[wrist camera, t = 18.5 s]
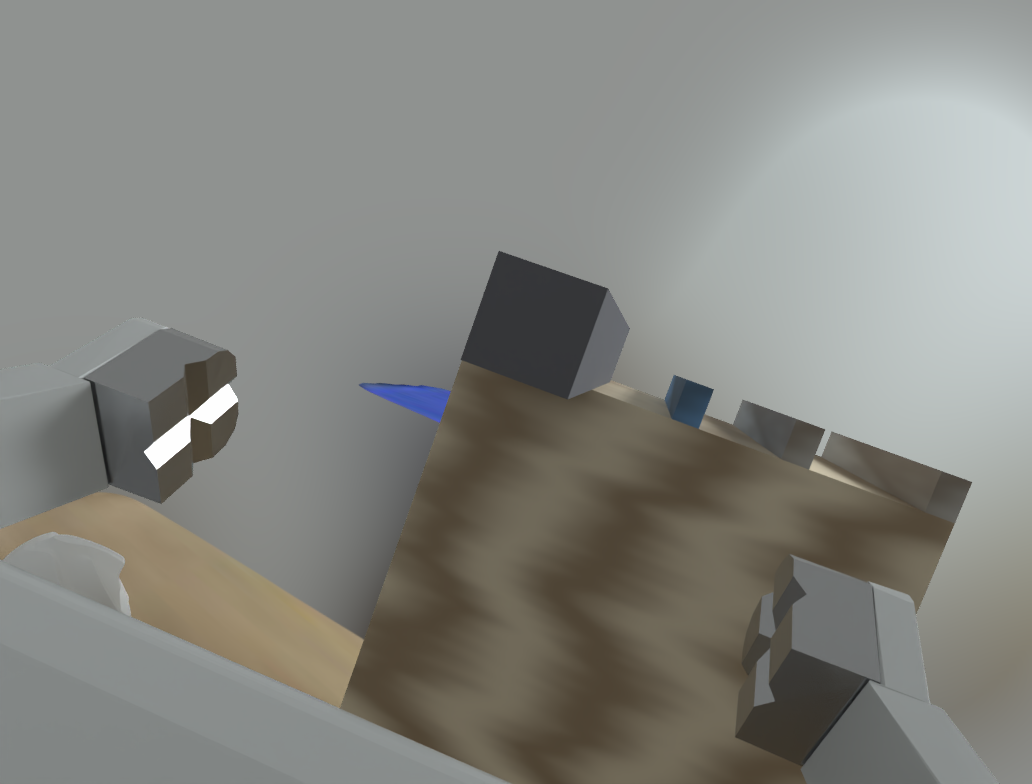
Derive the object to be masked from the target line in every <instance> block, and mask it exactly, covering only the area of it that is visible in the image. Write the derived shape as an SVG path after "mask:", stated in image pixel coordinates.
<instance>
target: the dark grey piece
mask: <svg viewBox="0 0 1032 784" xmlns="http://www.w3.org/2000/svg"><path fill="white" fill-rule="evenodd" d="M629 329H630V328H629V326H628V325H627V323H626V321H625V319H624V317H623V315H622V313H621V312H620V310H619V308H618V306H617V304H616V303H615V301H614V299H613V297H612V295H611V293H610V291H609V289H608V288H605V287H602V286H599V285H596V284H593V283H590V282H587V281H584V280H581V279H579V278H576V277H573V276H570V275H567V274H564V273H561V272H558V271H556V270H552V269H550V268H547V267H543V266H541V265H538V264H535V263H532V262H529V261H527V260H523V259H521V258H518V257H515V256H512V255H509V254H506V253H503V252H500V251H499V252H498V255H497V258H496V261H495V263H494V266H493V269H492V272H491V275H490V278H489V281H488V283H487V286H486V289H485V292H484V295H483V298H482V301H481V304H480V306H479V309H478V312H477V315H476V318H475V321H474V323H473V326H472V329H471V332H470V335H469V338H468V340H467V343H466V346H465V349H464V352H463V355H462V358H461V360H462V361H465V362H468V363H470V364H473V365H476V366H479V367H481V368H484V369H487V370H489V371H492V372H495V373H497V374H500V375H503V376H505V377H508V378H511V379H513V380H516V381H519V382H522V383H524V384H527V385H530V386H532V387H535V388H538V389H540V390H543V391H546V392H548V393H551V394H554V395H556V396H559V397H562V398H565V399H567V400H568V399H570V398H573V397H575V396H578V395H580V394H582V393H585V392H587V391H590V390H592V389H595V388H597V387H600V386H602V385H604V384H607V383H609V382H610V381H611V378H612V375H613V372H614V370H615V367H616V364H617V362H618V359H619V356H620V353H621V351H622V348H623V345H624V343H625V340H626V337H627V335H628V332H629Z"/></svg>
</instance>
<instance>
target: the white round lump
mask: <svg viewBox="0 0 1032 784" xmlns="http://www.w3.org/2000/svg"><path fill="white" fill-rule="evenodd" d="M2 561H4V562H7V563H9V564H11V565H14V566H16V567H18V568H20V569H23V570H25V571H27V572H30V573H32V574H34V575H36V576H39V577H41V578H43V579H46V580H48V581H50V582H52V583H55V584H57V585H59V586H62V587H64V588H66V589H68V590H71V591H73V592H75V593H77V594H80V595H82V596H84V597H87V598H89V599H91V600H93V601H96V602H98V603H100V604H103V605H105V606H107V607H109V608H112V609H114V610H116V611H119V612H121V613H123V614H125V615H128V616H130V617H131V611H130V607H129V603H128V601H129V597H128V595H127V593H126V590H125V588H124V586H123V584H122V582H121V580H120V579H119V574H120V572H121V570H122V568H123V566H124V564H125V560H124V557H123V556H121V555H120V554H118V553H116V552H115V551H113V550H111V549H109V548H107V547H104V546H102V545H100V544H97V543H95V542H92V541H89V540H86V539H83V538H79V537H76V536H72V535H58V534H57V533H56V532H50V533H46V534H43V535H40V536H37V537H35V538H33V539H31V540H29V541H27V542H25V543H23V544H22V545H20V546H19V547H17V548H16V549H14V550H13V551H12V552H11V553H10V554H8V555H7V556H6V557H5V558H4V559H3V560H2Z"/></svg>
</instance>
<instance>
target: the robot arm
mask: <svg viewBox="0 0 1032 784" xmlns="http://www.w3.org/2000/svg"><path fill="white" fill-rule="evenodd" d="M236 376H237V370H236V359H235V356H234V355H233V354H231V353H230V352H229V351H228V350H226V349H223V348H221V347H218V346H216V345H213V344H211V343H208V342H205V341H203V340H200V339H198V338H195V337H193V336H190V335H188V334H185V333H183V332H180V331H177V330H175V329H172V328H167V327H166V326H163V325H160V324H158V323H155V322H153V321H150V320H148V319H145V318H131V319H129V320H127V321H125V322H124V323H122V324H120V325H119V326H117V327H115V328H114V329H112V330H110V331H108V332H107V333H105V334H103V335H102V336H100V337H98V338H96V339H95V340H93V341H91V342H90V343H88V344H86V345H84V346H83V347H81V348H79V349H77V350H76V351H74V352H73V353H71V354H69V355H68V356H66V357H64V358H62V359H61V360H59V361H57V362H55V363H54V364H52V365H50V366H48V365H45V364H42V363H36V364H29V365H23V366H17V367H11V368H5V369H0V529H1V528H4V527H6V526H9V525H12V524H14V523H17V522H20V521H22V520H25V519H27V518H30V517H33V516H35V515H38V514H41V513H43V512H46V511H48V510H51V509H54V508H56V507H59V506H62V505H64V504H67V503H69V502H72V501H75V500H77V499H80V498H83V497H85V496H88V495H90V494H93V493H96V492H98V491H101V490H103V489H106V488H108V487H109V485H112V486H114V487H117V488H120V489H123V490H125V491H128V492H130V493H133V494H136V495H138V496H141V497H144V498H147V499H149V500H152V501H155V502H157V503H160V504H162V503H163V502H164V501H165V500H166V499H167V498H168V497H169V496H171V495H172V494H173V493H174V492H175V491H176V490H177V489H178V488H180V487H181V486H182V485H183V484H184V483H185V482H186V481H187V480H188V479H189V478H191V477H192V475H193V463H195V462H199V461H202V460H206V459H209V458H213V457H214V456H215V455H216V454H217V453H218V452H219V451H220V450H221V449H222V448H223V447H224V446H225V445H226V443H227V441H228V440H229V438H230V436H231V435H232V433H233V431H234V429H235V426H236V421H237V417H238V400H237V398H236V396H235V395H234V393H233V391H232V390H231V388H230V386H229V385H228V384H229V383H230V382H231V381H232V380H233V379H234V378H235V377H236ZM108 484H109V485H108ZM741 664H742V666H743V668H744V669H745V671H746V673H747V675H748V677H747V679H746V681H745V682H744V684H743V686H742V687H741V689H740V691H739V693H738V705H737V717H736V729H735V737H736V738H738V739H740V740H742V741H745V742H747V743H749V744H752V745H754V746H756V747H758V748H761V749H763V750H765V751H768V752H770V753H772V754H775V755H777V756H779V757H781V758H784V759H786V760H788V761H791V762H793V763H795V764H797V765H800V766H802V768H801V772H802V774H803V776H804V778H805V781H806V783H807V784H999V782H998V781H997V780H996V778H995V777H994V776H993V774H992V773H991V772H990V770H989V769H988V768H987V767H986V765H985V764H984V762H983V761H982V760H981V759H980V757H979V756H978V755H977V753H976V752H975V751H974V749H973V748H972V747H971V745H970V744H969V743H968V741H967V740H966V739H965V738H964V736H963V735H962V734H961V732H960V731H959V730H958V728H957V727H956V726H955V725H954V723H953V722H952V720H951V719H950V718H949V716H948V715H947V714H946V712H945V711H944V710H943V708H940V707H937V706H935V705H932V704H930V700H929V694H928V688H927V682H926V675H925V669H924V662H923V657H922V650H921V644H920V638H919V631H918V625H917V619H916V612H915V606H914V601H913V600H912V599H911V597H910V596H909V595H908V594H905V593H902V592H899V591H896V590H893V589H890V588H887V587H884V586H881V585H878V584H875V583H872V582H869V581H868V582H866V581H864V580H861V579H858V578H855V577H853V576H850V575H847V574H844V573H841V572H839V571H836V570H833V569H830V568H827V567H825V566H822V565H819V564H816V563H813V562H810V561H808V560H805V559H802V558H799V557H796V556H794V555H791V554H788V556H787V557H786V558H785V559H784V560H783V561H782V562H781V564H780V566H779V567H778V569H777V571H776V573H775V578H774V592H772V593H769V594H767V595H764V596H762V597H761V599H760V601H759V603H758V605H757V607H756V609H755V611H754V613H753V615H752V618H751V620H750V623H749V626H748V629H747V632H746V636H745V641H744V646H743V653H742V662H741ZM0 784H512V783H509V782H507V781H505V780H502V779H500V778H498V777H495V776H493V775H491V774H489V773H486V772H484V771H482V770H479V769H477V768H475V767H473V766H470V765H468V764H466V763H463V762H461V761H459V760H456V759H454V758H452V757H450V756H447V755H445V754H443V753H440V752H438V751H436V750H434V749H431V748H429V747H427V746H424V745H422V744H420V743H417V742H415V741H413V740H411V739H408V738H406V737H404V736H401V735H399V734H397V733H395V732H392V731H390V730H388V729H385V728H383V727H381V726H379V725H376V724H374V723H372V722H369V721H367V720H365V719H363V718H360V717H358V716H356V715H353V714H351V713H349V712H347V711H344V710H342V709H340V708H338V707H335V706H333V705H331V704H328V703H326V702H324V701H322V700H319V699H317V698H315V697H312V696H310V695H308V694H306V693H303V692H301V691H299V690H297V689H294V688H292V687H290V686H287V685H285V684H283V683H281V682H278V681H276V680H274V679H271V678H269V677H267V676H265V675H262V674H260V673H258V672H256V671H253V670H251V669H249V668H246V667H244V666H242V665H240V664H237V663H235V662H233V661H230V660H228V659H226V658H224V657H221V656H219V655H217V654H214V653H212V652H210V651H208V650H205V649H203V648H201V647H199V646H196V645H194V644H192V643H189V642H187V641H185V640H183V639H180V638H178V637H176V636H173V635H171V634H169V633H167V632H164V631H162V630H160V629H157V628H155V627H153V626H151V625H148V624H146V623H144V622H141V621H139V620H137V619H135V618H132V617H130V616H128V615H125V614H123V613H121V612H119V611H116V610H114V609H112V608H109V607H107V606H105V605H103V604H100V603H98V602H96V601H93V600H91V599H89V598H87V597H84V596H82V595H80V594H77V593H75V592H73V591H71V590H68V589H66V588H64V587H62V586H59V585H57V584H55V583H52V582H50V581H48V580H46V579H43V578H41V577H39V576H36V575H34V574H32V573H30V572H27V571H25V570H23V569H20V568H18V567H16V566H14V565H11V564H9V563H7V562H4V561H2V560H0Z"/></svg>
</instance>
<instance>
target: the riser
mask: <svg viewBox="0 0 1032 784" xmlns="http://www.w3.org/2000/svg"><path fill="white" fill-rule="evenodd" d="M713 390H714V389H711V388H708V387H706V386H703V385H700V384H697V383H694V382H692V381H689V380H686V379H683V378H681V377H678V376H675V375H674V376H673V379H672V382H671V384H670V387H669V390H668V392H667V395H666V397H665V400H663V399H661V398H658V397H655V396H653V395H650V394H647V393H644V392H641V391H639V390H636V389H633V388H631V387H628V386H625V385H622V384H620V383H617V382H614V381H610V382H609V383H607V384H604V385H602V386H600V387H597V388H595V389H592V390H590V391H587V392H585V393H582V394H580V395H578V396H575V397H573V398H570V399H568V400H567V399H565V398H562V397H559V396H556V395H554V394H551V393H548V392H546V391H543V390H540V389H538V388H535V387H532V386H530V385H527V384H524V383H522V382H519V381H516V380H513V379H511V378H508V377H505V376H503V375H500V374H497V373H495V372H492V371H489V370H487V369H484V368H481V367H479V366H476V365H473V364H470V363H468V362H465V361H462V362H461V365H460V367H459V370H458V373H457V376H456V379H455V382H454V385H453V387H452V390H451V393H450V396H449V399H448V402H447V405H446V407H445V410H444V413H443V416H442V419H441V422H440V424H439V427H438V430H437V433H436V436H435V439H434V442H433V444H432V447H431V450H430V453H429V456H428V459H427V462H426V464H425V467H424V470H423V473H422V476H421V479H420V482H419V484H418V488H417V490H416V494H415V496H414V499H413V502H412V504H411V507H410V510H409V513H408V516H407V519H406V522H405V525H404V527H403V530H402V533H401V536H400V539H399V542H398V544H397V547H396V550H395V553H394V556H393V559H392V562H391V564H390V567H389V570H388V573H387V576H386V579H385V582H384V584H383V587H382V590H381V593H380V596H379V599H378V602H377V604H376V607H375V610H374V613H373V616H372V619H371V621H370V625H369V628H368V630H367V633H366V636H365V639H364V641H363V644H362V647H361V650H360V653H359V656H358V659H357V661H356V664H355V667H354V670H353V673H352V676H351V679H350V681H349V684H348V687H347V690H346V693H345V696H344V699H343V701H342V704H341V707H340V709H342V710H344V711H347V712H349V713H351V714H353V715H356V716H358V717H360V718H363V719H365V720H367V721H369V722H372V723H374V724H376V725H379V726H381V727H383V728H385V729H388V730H390V731H392V732H395V733H397V734H399V735H401V736H404V737H406V738H408V739H411V740H413V741H415V742H417V743H420V744H422V745H424V746H427V747H429V748H431V749H434V750H436V751H438V752H440V753H443V754H445V755H447V756H450V757H452V758H454V759H456V760H459V761H461V762H463V763H466V764H468V765H470V766H473V767H475V768H477V769H479V770H482V771H484V772H486V773H489V774H491V775H493V776H495V777H498V778H500V779H502V780H505V781H507V782H509V783H512V784H807V783H806V781H805V778H804V776H803V774H802V772H801V768H802V766H800V765H797V764H795V763H793V762H791V761H788V760H786V759H784V758H781V757H779V756H777V755H775V754H772V753H770V752H768V751H765V750H763V749H761V748H758V747H756V746H754V745H752V744H749V743H747V742H745V741H742V740H740V739H738V738H736V737H735V729H736V717H737V705H738V693H739V691H740V689H741V687H742V686H743V684H744V682H745V681H746V679H747V677H748V675H747V673H746V671H745V669H744V668H743V666H742V664H741V662H742V653H743V646H744V641H745V636H746V632H747V629H748V626H749V623H750V620H751V618H752V615H753V613H754V611H755V609H756V607H757V605H758V603H759V601H760V599H761V597H762V596H764V595H767V594H769V593H772V592H774V578H775V573H776V571H777V569H778V567H779V566H780V564H781V562H782V561H783V560H784V559H785V558H786V557H787V556H788V554H791V555H794V556H796V557H799V558H802V559H805V560H808V561H810V562H813V563H816V564H819V565H822V566H825V567H827V568H830V569H833V570H836V571H839V572H841V573H844V574H847V575H850V576H853V577H855V578H858V579H861V580H864V581H866V582H868V581H869V582H872V583H875V584H878V585H881V586H884V587H887V588H890V589H893V590H896V591H899V592H902V593H905V594H908V595H909V596H910V597H911V599H912V600H913V601H914V606H915V612H916V614H917V611H918V609H919V606H920V604H921V602H922V600H923V597H924V595H925V593H926V590H927V588H928V585H929V583H930V581H931V578H932V576H933V574H934V571H935V569H936V566H937V564H938V562H939V559H940V557H941V555H942V552H943V550H944V547H945V545H946V543H947V540H948V538H949V536H950V533H951V531H952V529H953V526H954V524H955V521H956V519H957V517H958V514H959V512H960V510H961V507H962V505H963V503H964V500H965V498H966V495H967V493H968V491H969V488H970V486H971V483H972V482H970V481H967V480H965V479H962V478H959V477H956V476H954V475H951V474H948V473H945V472H942V471H940V470H937V469H934V468H931V467H929V466H926V465H923V464H920V463H917V462H915V461H911V460H909V459H906V458H903V457H901V456H898V455H895V454H892V453H890V452H887V451H884V450H881V449H879V448H876V447H873V446H870V445H868V444H865V443H862V442H859V441H856V440H854V439H851V438H848V437H845V436H843V435H840V434H837V433H834V432H831V435H830V437H829V440H828V442H827V444H826V447H825V449H824V452H823V454H822V457H820V456H817V455H815V454H816V451H817V449H818V446H819V444H820V441H821V438H822V436H823V434H824V431H825V429H822V428H819V427H817V426H814V425H811V424H809V423H806V422H803V421H800V420H797V419H795V418H792V417H789V416H787V415H784V414H781V413H778V412H775V411H773V410H770V409H767V408H764V407H762V406H759V405H756V404H753V403H750V402H748V401H745V400H742V403H741V406H740V408H739V411H738V414H737V416H736V419H735V421H734V424H733V425H732V424H729V423H727V422H724V421H721V420H718V419H715V418H713V417H710V416H707V415H705V411H706V409H707V406H708V403H709V401H710V398H711V396H712V393H713Z"/></svg>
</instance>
